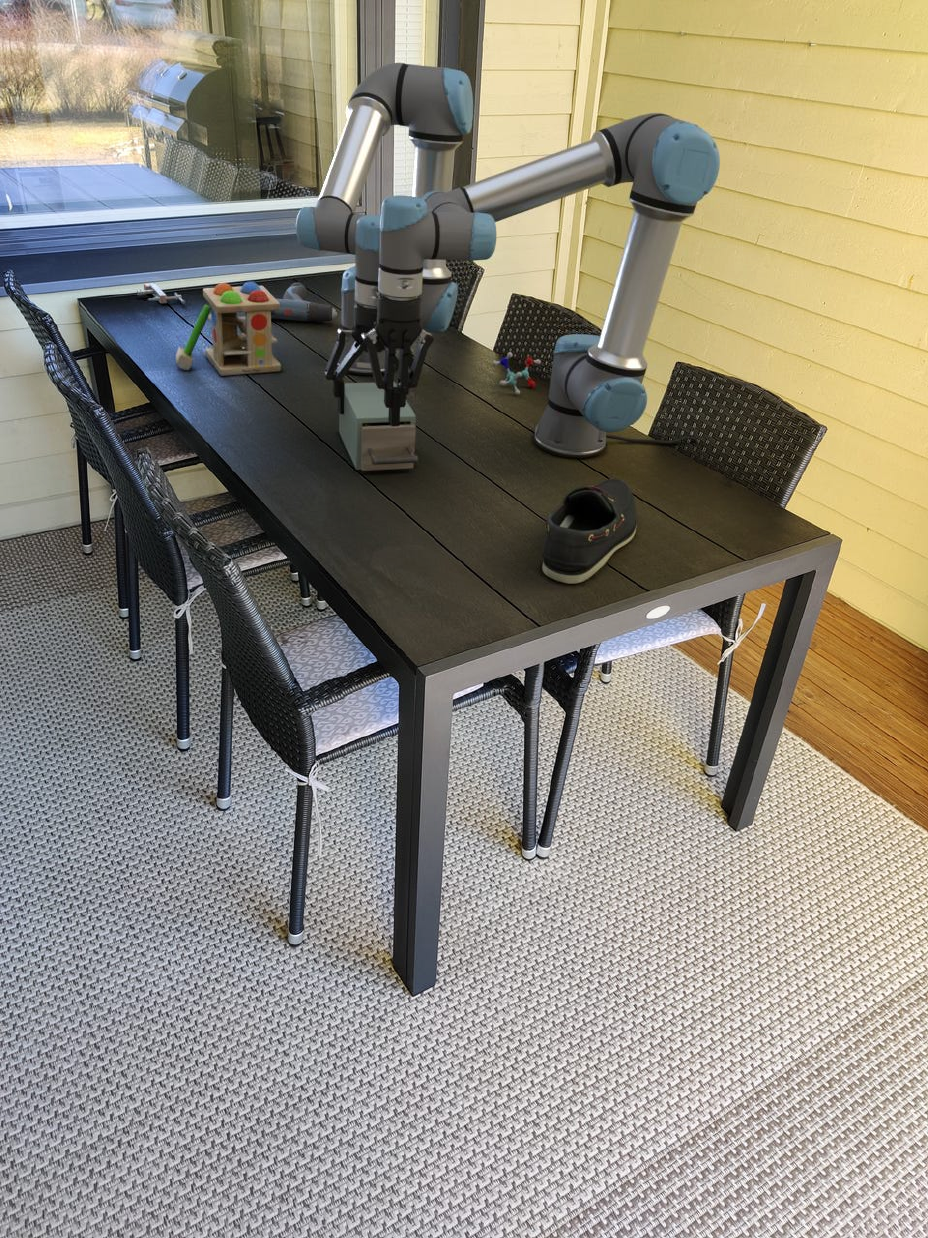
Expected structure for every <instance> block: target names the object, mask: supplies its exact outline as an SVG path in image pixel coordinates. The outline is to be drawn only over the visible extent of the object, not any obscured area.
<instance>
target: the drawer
mask: <svg viewBox="0 0 928 1238" xmlns="http://www.w3.org/2000/svg"><path fill="white" fill-rule="evenodd" d="M416 427H417V426H416V424H415V425H414V424H412V425H408V423H407V421H404V422H400V426H391V424H390V423H389V422H378V423H362V439H361V470H360V471H362V472H368V471H369V472H370V471H387V470H388V471H389V470H405V469H407V470H408V469H409V470H410V469H414V464H417V463H418V461H419V457H418V455H415V448H416V447H415V445H416V432H417V431H416V430H417V428H416Z"/></svg>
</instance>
